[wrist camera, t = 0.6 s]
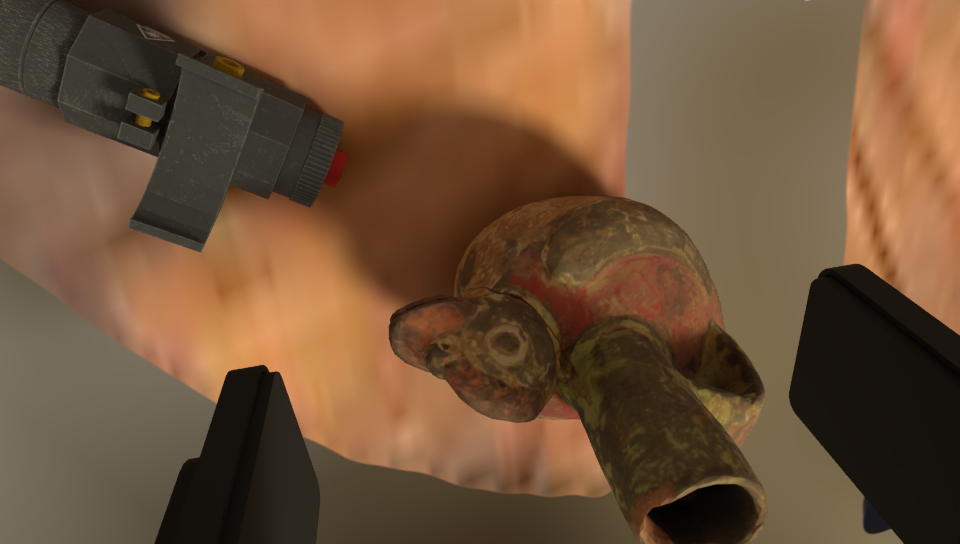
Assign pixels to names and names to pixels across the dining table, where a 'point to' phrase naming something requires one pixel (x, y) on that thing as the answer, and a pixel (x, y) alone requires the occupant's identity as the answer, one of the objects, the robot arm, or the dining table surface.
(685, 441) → the ceramic vessel
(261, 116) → the laser sight
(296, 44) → the dining table surface
